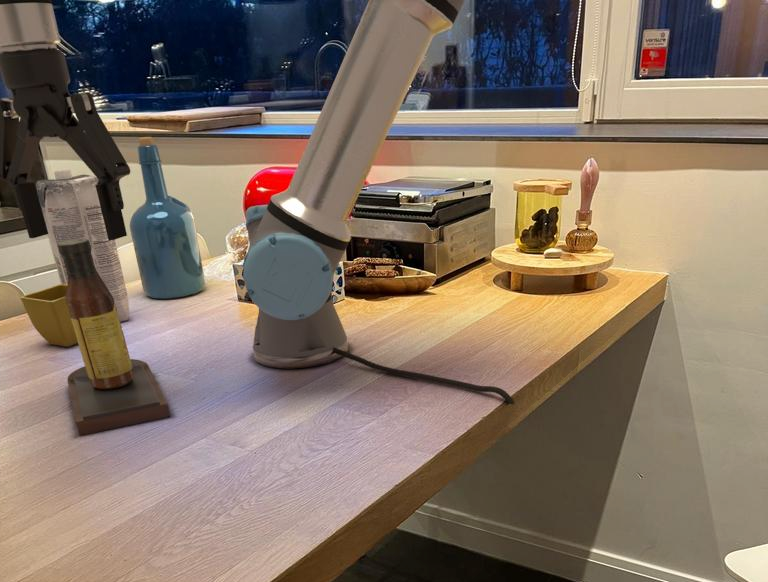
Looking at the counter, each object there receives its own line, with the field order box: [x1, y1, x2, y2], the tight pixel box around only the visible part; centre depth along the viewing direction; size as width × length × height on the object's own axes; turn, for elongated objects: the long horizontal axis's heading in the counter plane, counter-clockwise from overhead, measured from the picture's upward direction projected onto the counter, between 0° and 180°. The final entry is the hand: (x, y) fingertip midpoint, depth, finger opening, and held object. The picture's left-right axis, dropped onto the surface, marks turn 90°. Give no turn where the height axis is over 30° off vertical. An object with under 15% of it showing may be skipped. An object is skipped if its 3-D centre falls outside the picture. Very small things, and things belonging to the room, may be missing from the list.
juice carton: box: [35, 168, 130, 323], centre depth 144 cm, size 9×10×27 cm
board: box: [66, 358, 171, 437], centre depth 114 cm, size 24×12×2 cm, turn 23°
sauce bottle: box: [58, 238, 134, 389], centre depth 108 cm, size 6×6×20 cm
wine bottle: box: [129, 136, 206, 300], centre depth 160 cm, size 14×13×30 cm
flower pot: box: [20, 283, 78, 348], centre depth 138 cm, size 9×9×9 cm
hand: (77, 237), depth 102 cm, fingers open, 13 cm apart
